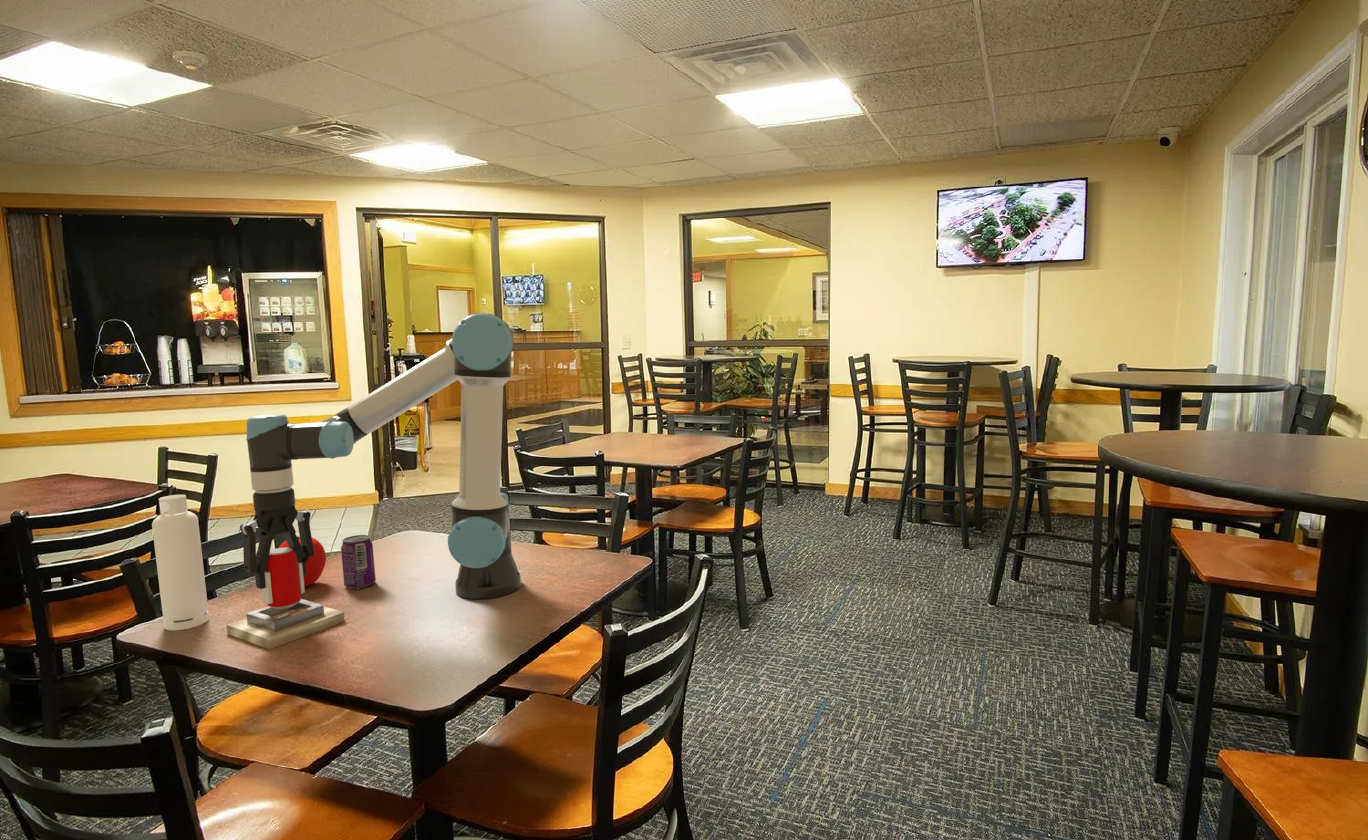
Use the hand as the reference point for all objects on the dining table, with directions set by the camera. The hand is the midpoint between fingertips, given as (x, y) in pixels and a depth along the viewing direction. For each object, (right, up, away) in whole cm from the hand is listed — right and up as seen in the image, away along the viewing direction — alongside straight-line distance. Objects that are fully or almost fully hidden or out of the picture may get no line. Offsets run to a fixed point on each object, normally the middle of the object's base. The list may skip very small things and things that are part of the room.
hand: (283, 596), depth 153 cm
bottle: (-24, -7, +5) cm, 26 cm away
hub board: (0, -7, +1) cm, 7 cm away
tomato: (-10, -4, +27) cm, 29 cm away
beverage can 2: (+4, -4, +26) cm, 27 cm away
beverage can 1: (0, -2, 0) cm, 2 cm away
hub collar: (0, -5, +1) cm, 5 cm away
